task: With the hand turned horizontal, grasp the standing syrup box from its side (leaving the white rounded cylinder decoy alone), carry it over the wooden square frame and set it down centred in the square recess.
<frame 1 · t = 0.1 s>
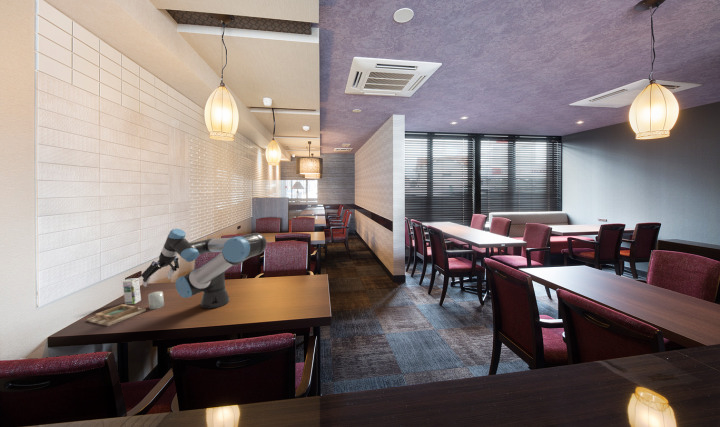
hand: (156, 281, 163), 15 cm above the table, tool tilted 35°, fingers open, 13 cm apart
white rounded cylinder: (156, 306, 164), on the table
syrup box: (133, 302, 171), on the table
wooden square frame: (117, 315, 153), on the table
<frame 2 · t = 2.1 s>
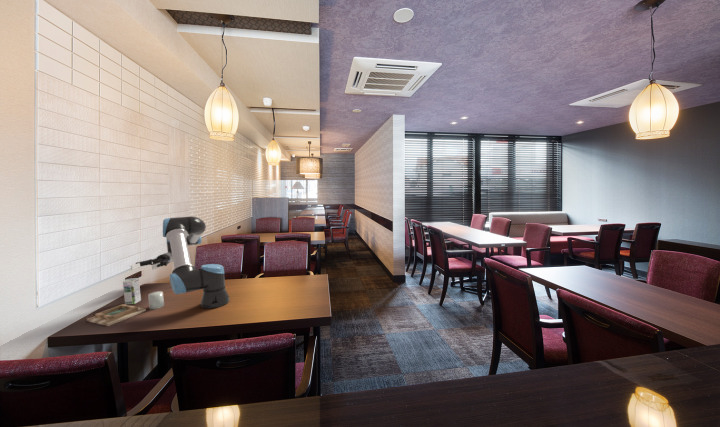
hand: (141, 267, 179), 19 cm above the table, tool horizontal, fingers open, 13 cm apart
nothing on the table moved.
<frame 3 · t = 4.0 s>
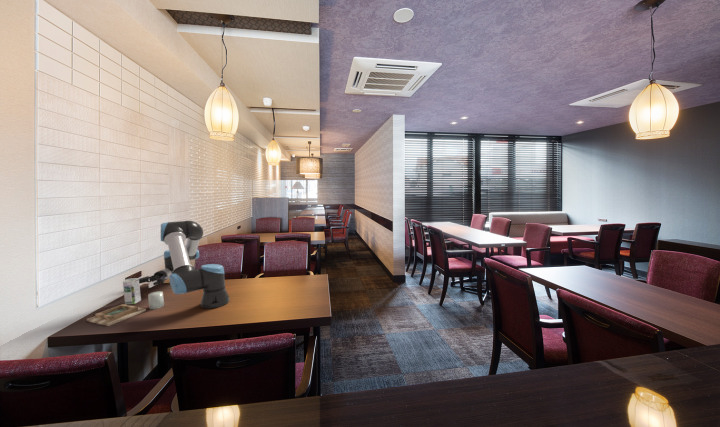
hand: (138, 286, 176), 8 cm above the table, tool horizontal, fingers open, 13 cm apart
nothing on the table moved.
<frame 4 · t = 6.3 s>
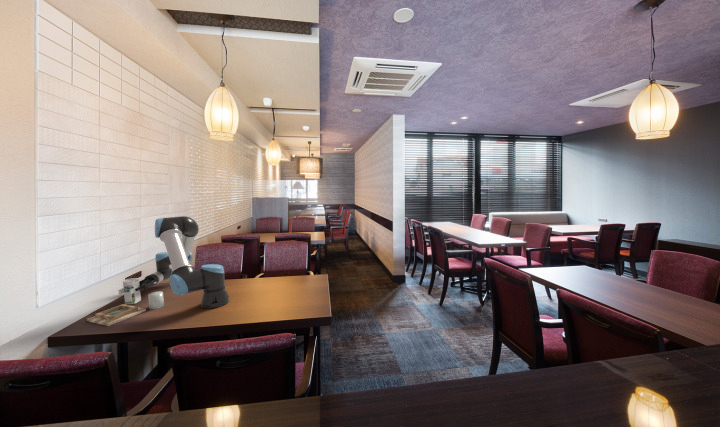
hand: (124, 292, 165), 9 cm above the table, tool horizontal, fingers closed on syrup box, 6 cm apart
syrup box: (133, 302, 171), on the table, touching gripper
everything else where it was.
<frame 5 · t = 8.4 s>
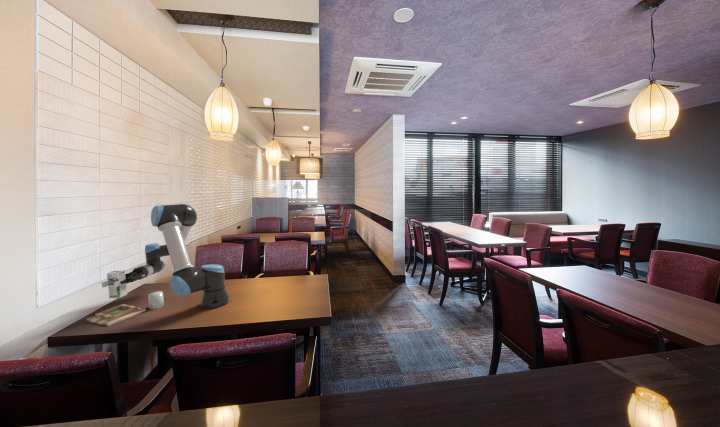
hand: (108, 285, 151), 18 cm above the table, tool horizontal, fingers closed on syrup box, 6 cm apart
syrup box: (118, 296, 157), point 9 cm above the table, touching gripper
everything else where it was.
when the fingers open (11 cm above the table, at t = 10.4 s): syrup box stays where it is, resting on wooden square frame.
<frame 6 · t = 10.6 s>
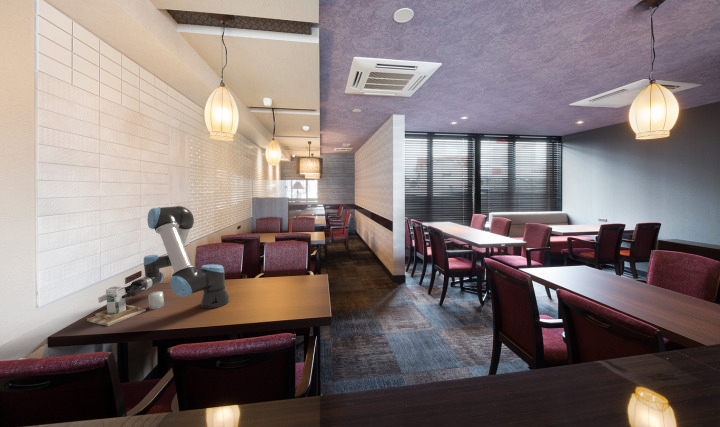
hand: (107, 299, 147), 11 cm above the table, tool horizontal, fingers open, 8 cm apart
syrup box: (117, 313, 153), point 1 cm above the table, touching wooden square frame
everything else where it was.
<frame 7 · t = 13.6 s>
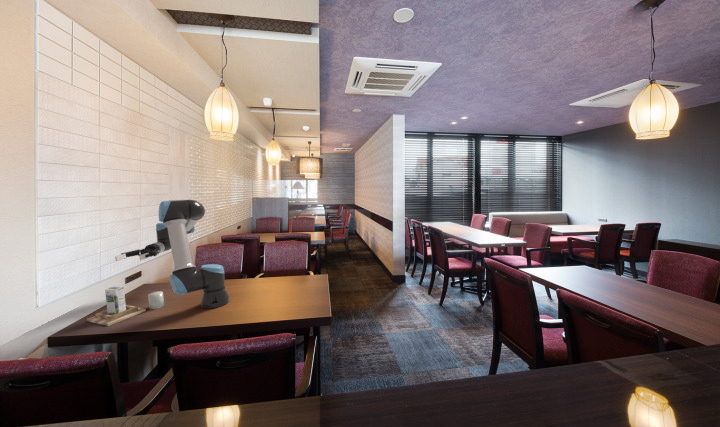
hand: (128, 258, 160), 30 cm above the table, tool horizontal, fingers open, 13 cm apart
nothing on the table moved.
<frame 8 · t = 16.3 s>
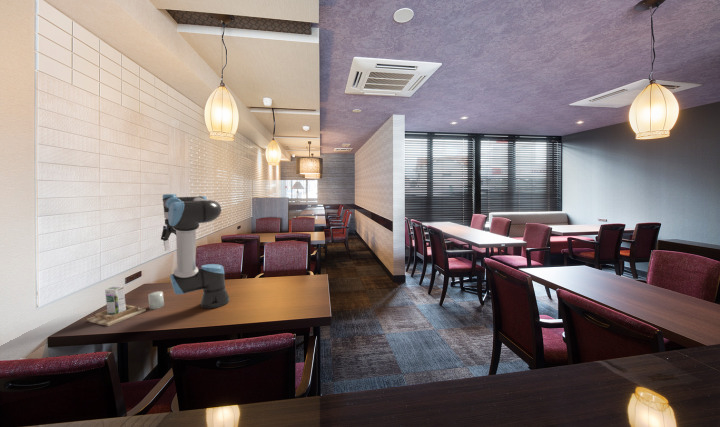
hand: (174, 251, 180), 29 cm above the table, tool pointing down, fingers open, 13 cm apart
nothing on the table moved.
at the end: syrup box inside the target area on the wooden square frame (0.0 cm from its centre), point 1.2 cm above the wooden square frame's base; syrup box tilted 0°; the gripper is holding nothing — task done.
